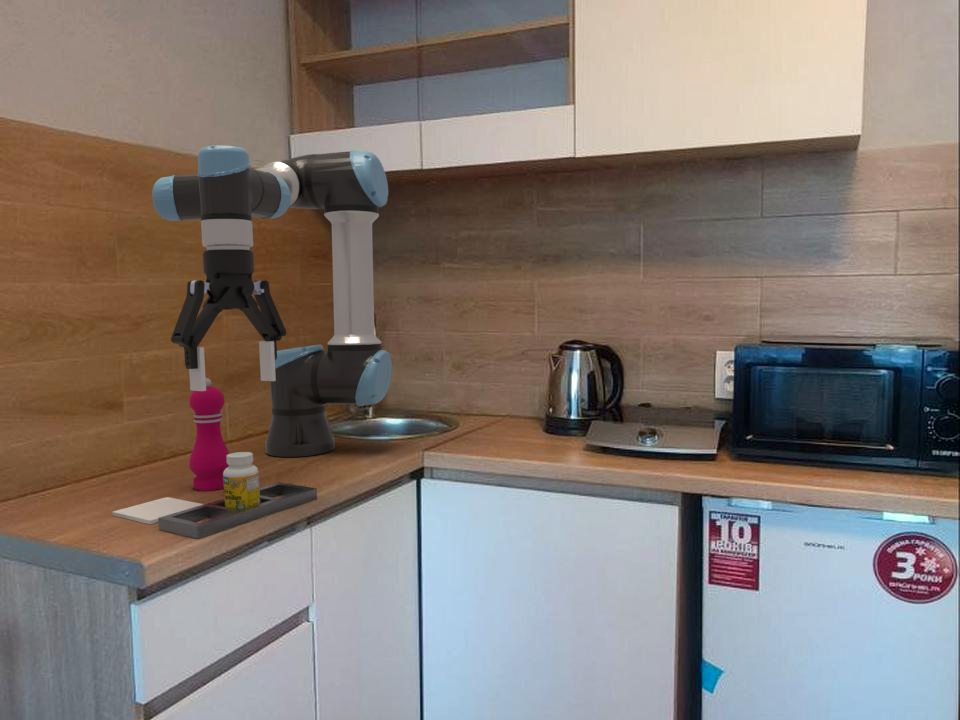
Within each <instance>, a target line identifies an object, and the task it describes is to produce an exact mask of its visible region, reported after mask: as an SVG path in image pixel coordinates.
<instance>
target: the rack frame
mask: <svg viewBox="0 0 960 720" xmlns="http://www.w3.org/2000/svg"><path fill="white" fill-rule="evenodd" d="M259 490H260V504H258V505H254V506H251V507H248V508H245V509H242V510H237V509H232V508H227V507H225V497H224V498H222V499H219V500H213V501H212V502H208V503H205V504H204V503H203V504H204V505H200V506H197V507H194V508H190V509H187V510H183V511H180V512H177V513H173V514H170V515H166V516H163V517H159V518H158V522H157V523H158V530H159V531H163V532H167V533H172V534H176V535H181V536H184V537H189V538H193V539H197V540H198V539H202V538H204V537H208V536H210V535H213V534H216V533H220V532H222V531H225V530H228V529H231V528H234V527H237V526H241V525H243V524H246V523H249V522H252V521H255V520H258V519H261V518H263V517H268V516H270V515H273V514H276V513H279V512H283V511H285V510H288V509H291V508H294V507H297V506H300V505H303V504H306V503H309V502H311V501H314V500H318V488H315V487H310V486H305V485H297V484H294V483H293V484H291V483H285V482H279V481H278V482H276V483H275V482H274V483H273V484H269V485H265V486H262V487H259ZM277 496H280V497H278V498H276V497H277ZM206 518H209V519H207V520H204V519H206ZM199 520H204V521H202V522H201V521H200V522H197V521H199Z"/></svg>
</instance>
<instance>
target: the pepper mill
mask: <svg viewBox="0 0 960 720" xmlns="http://www.w3.org/2000/svg"><path fill="white" fill-rule="evenodd" d="M211 385H212V380H211V379H210V378H208V377H206V391H193V390H192V393H191V394H190V396H189V401H188V402H189V407H190V408H191V409H192V411H194V414H193V415H192V417H193V423H195V425H196V438H195V443H194V445H193V448H192V450H191V453H190V457H189V469H190V471H191V472H192V473H193V474H194V475H195V477H193V479H192V480H193V482H192V483H193V486H192V487H193V489H194V490H196V491H202V492H205V491H209V492H210V491H216V490H217V491H218V490H221V489H224V480H223V472H224V470H225V469H226V468H227V467H229V465H228V464H227V455H228V454H231V453H230V451H229V448H228V447H227V445H226V443H225V441H224V439H223V436H222V430H221V421H223V419H224V418H223V412H221V411H222V409H223V408H224V405H225V400H226V399H225V395H224V393H223V392H222V391H221V389H219V388H217V387H215V386H211Z"/></svg>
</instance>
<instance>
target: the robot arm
mask: <svg viewBox="0 0 960 720" xmlns="http://www.w3.org/2000/svg"><path fill="white" fill-rule="evenodd" d="M197 159H198V160H197V162H198V163H197V173H195V174H193V173H192V174H184V175H183V174H182V175H177V174H175V175H174V174H173V175H171V176H163V177H160V178H159V179H157V180H156V181H155V183H154V184H153V187H152V193H151V197H152V200H153V206H154V209H155V211H156V212H157V214H158V215H159V217H160V218H162V219H164V220H166V221H174V222H175V221H176V222H177V221H179V222H184V221H198V220H200V223H201V225H200V227H201V228H200V229H201V243H202V244H201V245H202V246H203V247H204V248H206V250H204V251H203V252H202V266H203V273H204V275H205V276H206V278H205V279H206V280H205V282H204V280H203V279H199V280H189V281H188V282H187V284H186V285H187V286H186V297H185V300H184V303H183V304H182V308H181V311H180V314H179V315H178V318H177V321H176V322H175V323H176V324H175V327H174V329H173V331H172V335H171V337H170V341H171V343H172V344H176V345H178V346H179V347H180V348H183V352H184V366H185V369H187V370H188V371H189V374H188V375H189V387H190V388H189V390H190V391H192V392H193V391H206V378H207V377H206V363H205V362H206V361H205V347H204V346H199V345H200V344H201V342H202V341H203V339H204V337H206V334H207V333H208V330H209V329H210V328H211V327H212V325H213V323H214V321H215V320H216V318H217V317H218V316H219V314H220V313H222V312H223V310H226V311H227V310H239V311H241V312H242V313H243V314H244V315H245V317H246V318H247V320H248V321H249V322H250V323H251V324H252V326H253V328H255V330H256V331H257V333H258V334H259V335H260V337H261V338H262V339H263V340H261V341H260V340H259V341H258V345H259V346H258V347H259V351H258V352H259V368H260V381H261V382H269V383H270V401H271V421H270V426H269V429H268V433H267V438H266V440H265V442H264V445H265V446H264V448H265V453H266V455H269V456H272V457H273V456H274V457H281V458H282V457H283V458H289V457H290V458H295V457H309V456H315V455H321V454H322V455H323V454H325V453H328V452H332V451H333V450H335V449H336V446H335V445H336V442H335V439H336V438H335V436H334V435H333V434H332V430H331V426H330V423H329V420H328V418H327V414H326V405H357V406H364V405H375V404H376V405H377V404H378V403H380V402H381V401H382V400H383V399H384V398H385V396H386V394H387V393H388V391H389V388H390V384H391V379H392V373H393V363H392V360H391V355H390V352H388V351H387V350H384V349H382V348H383V347H382V341H381V340H380V338H378V337H377V336H376V335H375V302H374V298H375V297H374V296H375V295H374V258H373V257H374V256H373V254H374V251H373V250H374V249H373V223H374V222H375V221H376V220H377V219H378V218H379V217H380V215H379V214H380V211H379V210H380V209H379V208H382V207H383V206H386V205H387V202H388V197H389V184H388V183H389V182H388V179H387V175H386V171H385V169H384V166H383V164H382V162H381V160H380V159H379V157H378V156H377V155H376V154H374V153H373V152H371V151H368V150H363V151H361V150H359V151H358V150H350V151H340V152H329V153H328V152H327V153H316V154H315V153H313V154H312V153H311V154H310V153H309V154H305V155H300V156H296V157H292V158H291V157H290V158H288V159H284V160H279V161H271V162H268V163H266V164H265V165H263V167H260V168H259V167H258V168H252V167H251V162H250V156H249V153H248V151H247V150H246V149H245V148H243V147H239V146H235V145H224V144H222V145H221V144H217V145H208V146H204V147H202V148H201V149H200V150H199V152H198V157H197ZM288 209H306V210H323V211H324V212H323V215H324V217H325V219H327V220H328V221H329V222H330V224H331V245H332V246H331V247H332V248H331V249H332V250H331V251H332V254H331V255H332V256H331V257H332V283H333V284H332V285H333V286H332V287H333V288H332V290H333V293H332V295H333V320H334V321H333V324H334V325H333V330H334V331H333V332H334V333H333V334H334V335H333V337H331V338H330V340H329V341H328V342H327V350H326V351H325V348H324V347H323V345H322V344H315V345H313V344H312V345H307V346H301V347H300V346H299V347H294V348H287V349H286V348H285V349H281V350H278V347H277V345H278V344H277V341H278V342H279V341H281V340H282V339H283V338H282V337H285V336H286V335H287V329H286V328H285V326H284V323H283V321H282V318H281V316H280V314H279V311H278V309H277V306H276V304H275V302H274V299H273V298H272V295H271V290H270V283H269V281H268V280H254V281H253V278H252V276H253V274H254V273H255V258H254V256H255V255H254V252H253V251H252V250H250V248H252V247H254V237H253V236H254V235H253V234H254V233H253V221H252V220H253V218H260V219H262V220H265V219H268V220H269V219H277V218H279V217H281V216H283V215H284V214H285V213H286V212H287V210H288ZM205 294H206V295H207V296H208V297H207V299H206V300H205V302H204V303H203V301H204V298H205ZM252 294H254V297H253V296H252ZM202 304H203V305H202ZM201 307H202V309H201ZM200 309H201V311H200Z"/></svg>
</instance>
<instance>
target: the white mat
mask: <svg viewBox="0 0 960 720" xmlns="http://www.w3.org/2000/svg"><path fill="white" fill-rule="evenodd" d="M200 505H204V503H199V502H194V501H188V500H185V499H180V498H179V499H178V498H174V497H170V496H169V497H168V496H166V497H162V498H158V499H155V500H151V501H147V502H142V503H140V504H136V505H135V504H134V505H133V506H129V507H125V508H121V509H117V510H114V511H112V512H111V514H112V516H114V517H117V518H122V519H126V520H131V521H134V522H138V523H143V524H147V525H153V524H156V523H159V522H158V518H159V517H163V516H166V515H170V514H173V513H177V512H180V511H183V510H187V509H190V508H194V507H197V506H200Z"/></svg>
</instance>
